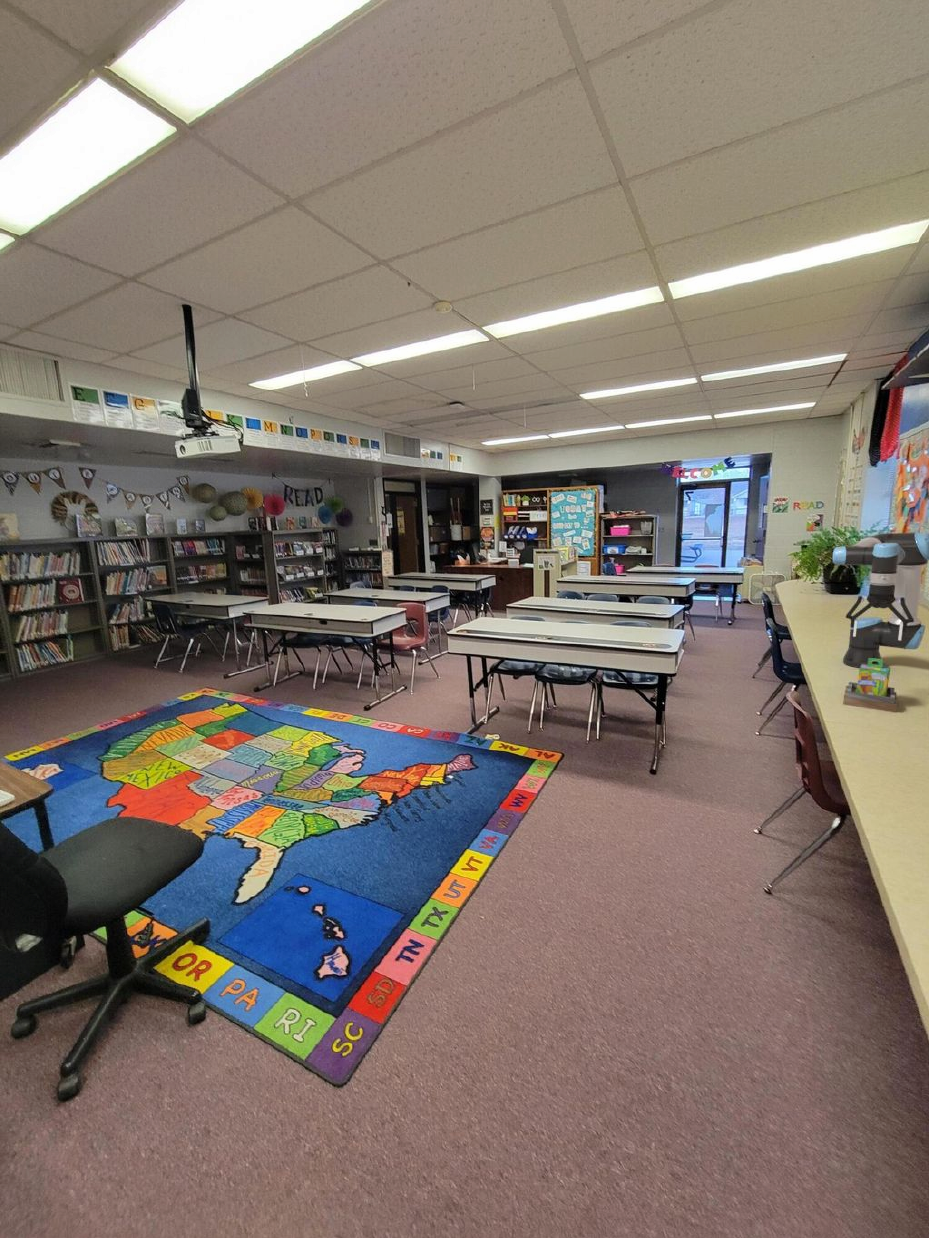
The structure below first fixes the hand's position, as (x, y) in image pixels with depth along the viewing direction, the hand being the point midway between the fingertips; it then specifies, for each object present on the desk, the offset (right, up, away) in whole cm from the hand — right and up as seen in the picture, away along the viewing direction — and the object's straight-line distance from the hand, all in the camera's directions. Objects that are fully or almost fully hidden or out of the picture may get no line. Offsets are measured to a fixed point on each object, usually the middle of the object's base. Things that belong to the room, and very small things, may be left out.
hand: (876, 637), depth 192 cm
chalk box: (+2, -23, +4) cm, 24 cm away
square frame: (+2, -26, +5) cm, 27 cm away
